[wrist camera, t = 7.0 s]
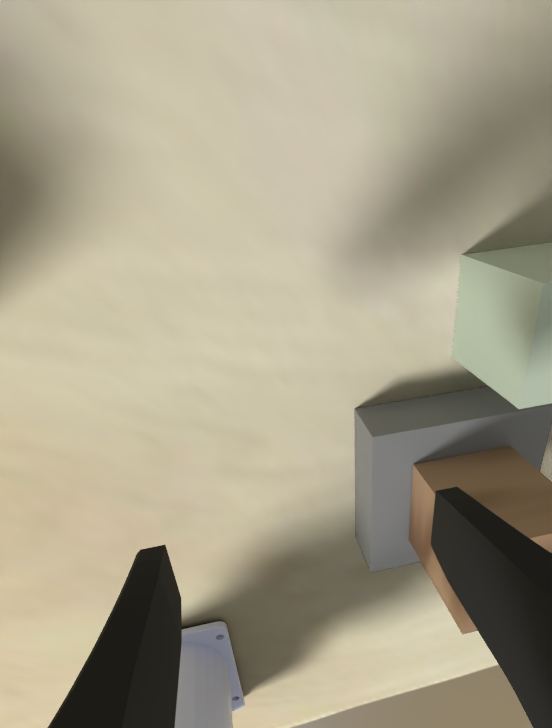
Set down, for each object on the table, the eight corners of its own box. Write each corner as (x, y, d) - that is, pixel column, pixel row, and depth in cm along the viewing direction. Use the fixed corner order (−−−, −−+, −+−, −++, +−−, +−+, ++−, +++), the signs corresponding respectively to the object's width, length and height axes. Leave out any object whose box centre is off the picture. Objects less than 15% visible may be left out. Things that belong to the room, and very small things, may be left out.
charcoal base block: (490, 502, 27) (523, 540, 24) (352, 529, 26) (370, 572, 23) (513, 376, 23) (555, 404, 20) (351, 403, 22) (372, 437, 19)
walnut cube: (496, 520, 23) (570, 607, 18) (408, 539, 22) (462, 634, 18) (510, 445, 21) (597, 522, 16) (413, 464, 20) (476, 550, 15)
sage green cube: (543, 341, 21) (633, 388, 17) (450, 356, 21) (519, 409, 16) (563, 240, 19) (674, 263, 15) (460, 254, 19) (542, 283, 14)
